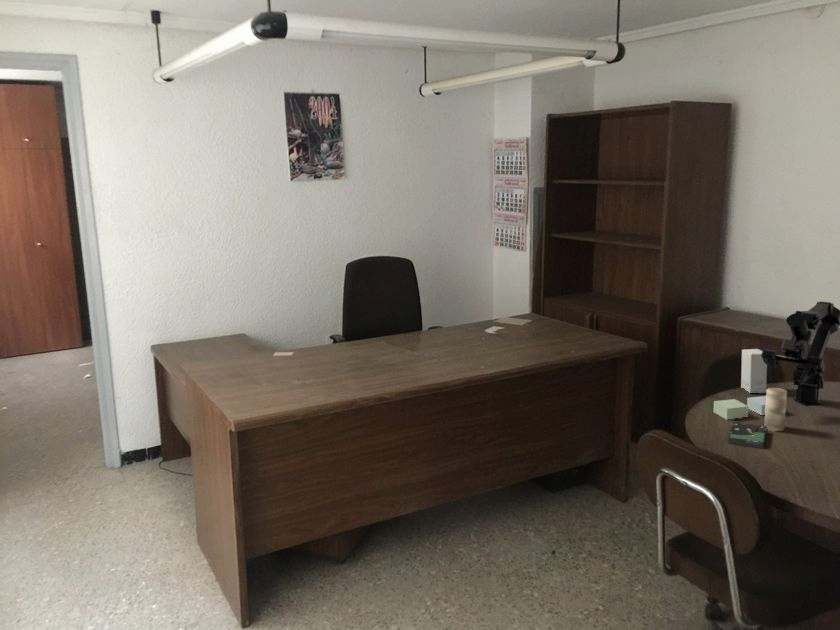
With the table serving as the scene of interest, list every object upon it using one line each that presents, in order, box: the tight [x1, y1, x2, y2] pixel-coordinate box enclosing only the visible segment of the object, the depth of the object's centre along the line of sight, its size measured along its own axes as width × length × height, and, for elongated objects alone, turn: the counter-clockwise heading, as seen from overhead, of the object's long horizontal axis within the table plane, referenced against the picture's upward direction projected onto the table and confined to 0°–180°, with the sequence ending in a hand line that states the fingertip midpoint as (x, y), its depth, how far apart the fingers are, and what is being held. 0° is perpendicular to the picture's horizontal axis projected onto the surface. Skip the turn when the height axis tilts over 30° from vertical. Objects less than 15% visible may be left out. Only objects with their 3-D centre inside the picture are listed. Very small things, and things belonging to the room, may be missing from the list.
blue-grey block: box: [746, 395, 766, 416], centre depth 249 cm, size 8×8×4 cm
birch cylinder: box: [763, 387, 788, 432], centre depth 232 cm, size 6×6×13 cm
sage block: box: [712, 398, 749, 420], centre depth 246 cm, size 8×8×4 cm
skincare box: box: [740, 348, 768, 394], centre depth 269 cm, size 8×7×16 cm
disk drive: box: [727, 421, 768, 449], centre depth 226 cm, size 10×3×15 cm
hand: (784, 381), depth 236 cm, fingers open, 9 cm apart
